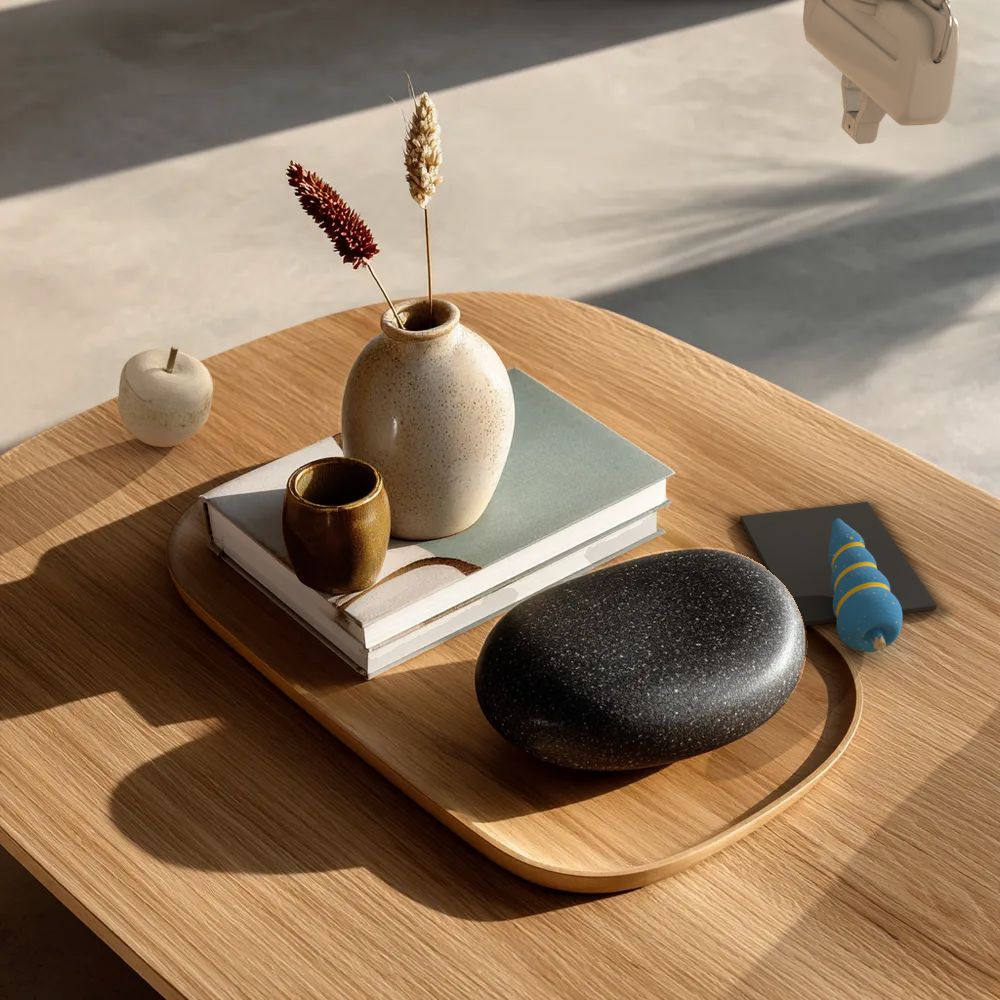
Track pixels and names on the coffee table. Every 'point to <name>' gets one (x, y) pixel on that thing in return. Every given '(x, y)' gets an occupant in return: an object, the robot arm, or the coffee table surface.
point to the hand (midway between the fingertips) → (857, 136)
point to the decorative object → (164, 396)
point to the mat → (805, 562)
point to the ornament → (861, 594)
